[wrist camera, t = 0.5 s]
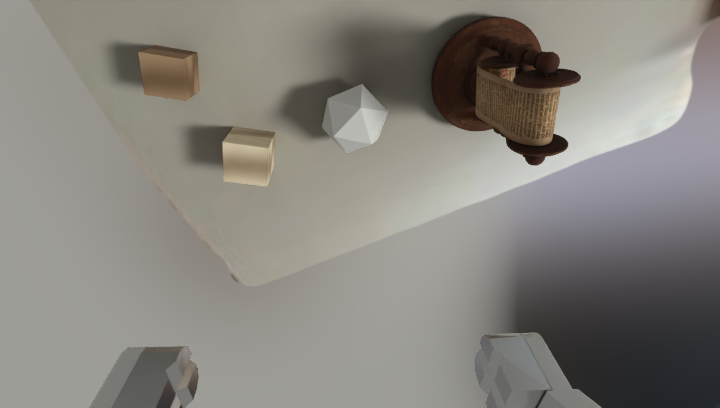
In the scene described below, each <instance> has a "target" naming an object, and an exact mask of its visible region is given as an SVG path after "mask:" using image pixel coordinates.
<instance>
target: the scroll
mask: <svg viewBox="0 0 720 408" xmlns="http://www.w3.org/2000/svg"><path fill="white" fill-rule="evenodd" d="M559 63H560V59H559V57H558V55H557V54H555V53H554V52H542V51H541V47H540V44H539V42H538V40H537V38H536V36H535V35H534V33H533V32H532V31H531V30H530V29H529V28H528V27H527V26H525V25H524V24H523V23H521V22H519V21H516V20H514V19H510V18H506V17H487V18H482V19H479V20H476V21H474V22H472V23H470V24H468V25H466V26H465V27H463V28H462V29H460V30H459V31H458V32H457V33H455V34H454V35H453V36H452V37H451V38H450V39H449V41H448V42H447V43H446V44H445V46H444V47H443V49H442V50H441V52H440V54H439V56H438V58H437V60H436V63H435V66H434V69H433V74H432V94H433V98H434V102H435V104H436V106H437V108H438V110H439V111H440V113H441V114H442V115H443V116H444V117H445V119H446V120H448V121H449V122H450V123H451V124H453V125H454V126H456V127H458V128H461V129H464V130H469V131H485V130H490V129H493V130H494V131H495V132H496V133H498V134H501V136H503V137H506V143H507V146H508V147H509V148H510V149H511V150H513V151H514V152H516V153H519V154H522V155H523V157H525V160H526V161H527V163H528V164H530V165H539V164H541V163H542V162H543V161H544V159H545V156H552V155H556V154H559V153H561V152H563V151H565V150H566V149H567V147H568V142H567V140H566V139H564V138H563V137H561V136H559V135H556V134H553V132H554V125H555V119H556V113H557V107H558V100H559V94H560V88H561V87H565V86H569V85H572V84H575V83H577V82H578V81H580V79H581V76H580V75H579V74H578V73H577V72H575V71H572V70H567V69H557V68H558V66H559Z"/></svg>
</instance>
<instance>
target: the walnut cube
mask: <svg viewBox="0 0 720 408" xmlns="http://www.w3.org/2000/svg"><path fill="white" fill-rule="evenodd" d="M138 55H139V61H140V68H141V74H142V81H143V88H144V94H145V95H151V96H158V97H165V98H171V99H178V100H184V101H187V100H188V99H190V98H191V97H192V96H194V95H195V94H196V93H197V92H199V91H200V87H199V72H198V57H197V52H192V51H186V50H180V49H175V48H169V47H163V46H157V45H156V46H153V47H151V48H148V49H145V50H142V51H139V52H138Z"/></svg>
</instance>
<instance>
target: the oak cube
mask: <svg viewBox="0 0 720 408" xmlns="http://www.w3.org/2000/svg"><path fill="white" fill-rule="evenodd" d="M222 143H223V172H224V181H226V182H234V183H242V184H251V185H259V186H267V185H268V182H269V179H270V176H271V174H272V171H273V167H274V146H275V132H269V131H262V130H255V129H248V128H241V127H233V128H232V130H231V131H230V132H229V134H228V135H227V136H226V138H225V139H224V141H223V142H222Z"/></svg>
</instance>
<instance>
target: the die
mask: <svg viewBox="0 0 720 408" xmlns="http://www.w3.org/2000/svg"><path fill="white" fill-rule="evenodd" d="M387 114H388V111H387V110H386V109H385V108H384V107H383V106H382V105H381V104H380V103H379V102H378V100H377V99H376V98H375V97H374V96H373V95H372V94H371V93H370V92H369V91H368V90H367V89H366V88H365V87H364V85H363V84H361V85H358V86H356V87H353V88H351V89H349V90H346V91H344V92H342V93H339V94H337V95H334V96H332V97H330V98H328V100H327V105H326V110H325V114H324V119H323V124H322V128H323V129H324V131H325V132H326V133H327V134H328V135H329V136H330V137H331V138H332V139H333V140H334V141H335V142H336V143H337V144H338V145H339V146H340V147H341V148H342V149H343V150H344V151H345V152H346V154H348V153H350V152H353V151H356V150H358V149H361V148H364V147H366V146H369V145H371V144H373V143H374V142H375V141H376V140H378V137H379V135H380V132H381V130H382V127H383V124H384V122H385V119H386V117H387Z"/></svg>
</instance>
